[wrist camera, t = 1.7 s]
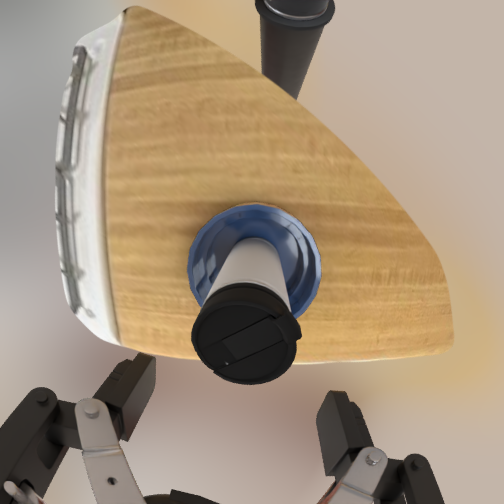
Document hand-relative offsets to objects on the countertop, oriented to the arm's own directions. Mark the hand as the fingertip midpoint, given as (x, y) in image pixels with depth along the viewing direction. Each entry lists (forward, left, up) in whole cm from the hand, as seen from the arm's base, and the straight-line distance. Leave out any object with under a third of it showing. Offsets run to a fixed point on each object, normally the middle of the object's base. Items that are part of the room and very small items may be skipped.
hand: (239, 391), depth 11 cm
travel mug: (0, 0, -24) cm, 24 cm away
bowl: (0, 0, -24) cm, 24 cm away
